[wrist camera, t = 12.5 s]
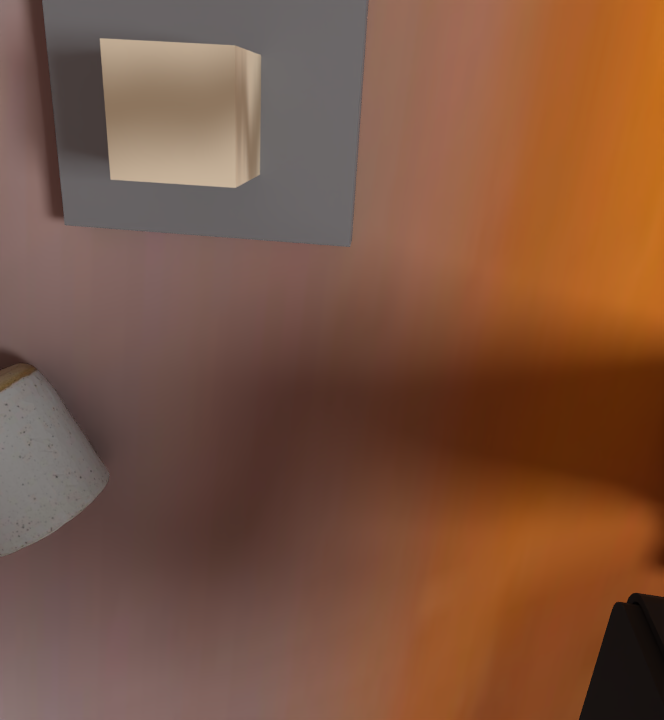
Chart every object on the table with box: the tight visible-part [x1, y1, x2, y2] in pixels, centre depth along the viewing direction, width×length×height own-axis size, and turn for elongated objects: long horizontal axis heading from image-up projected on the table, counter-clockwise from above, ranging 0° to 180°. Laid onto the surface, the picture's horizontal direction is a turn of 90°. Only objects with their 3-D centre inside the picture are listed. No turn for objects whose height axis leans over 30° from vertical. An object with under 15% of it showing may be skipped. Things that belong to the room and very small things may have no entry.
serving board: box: [42, 0, 368, 247], centre depth 29 cm, size 11×14×2 cm
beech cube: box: [100, 38, 261, 188], centre depth 26 cm, size 5×5×5 cm
